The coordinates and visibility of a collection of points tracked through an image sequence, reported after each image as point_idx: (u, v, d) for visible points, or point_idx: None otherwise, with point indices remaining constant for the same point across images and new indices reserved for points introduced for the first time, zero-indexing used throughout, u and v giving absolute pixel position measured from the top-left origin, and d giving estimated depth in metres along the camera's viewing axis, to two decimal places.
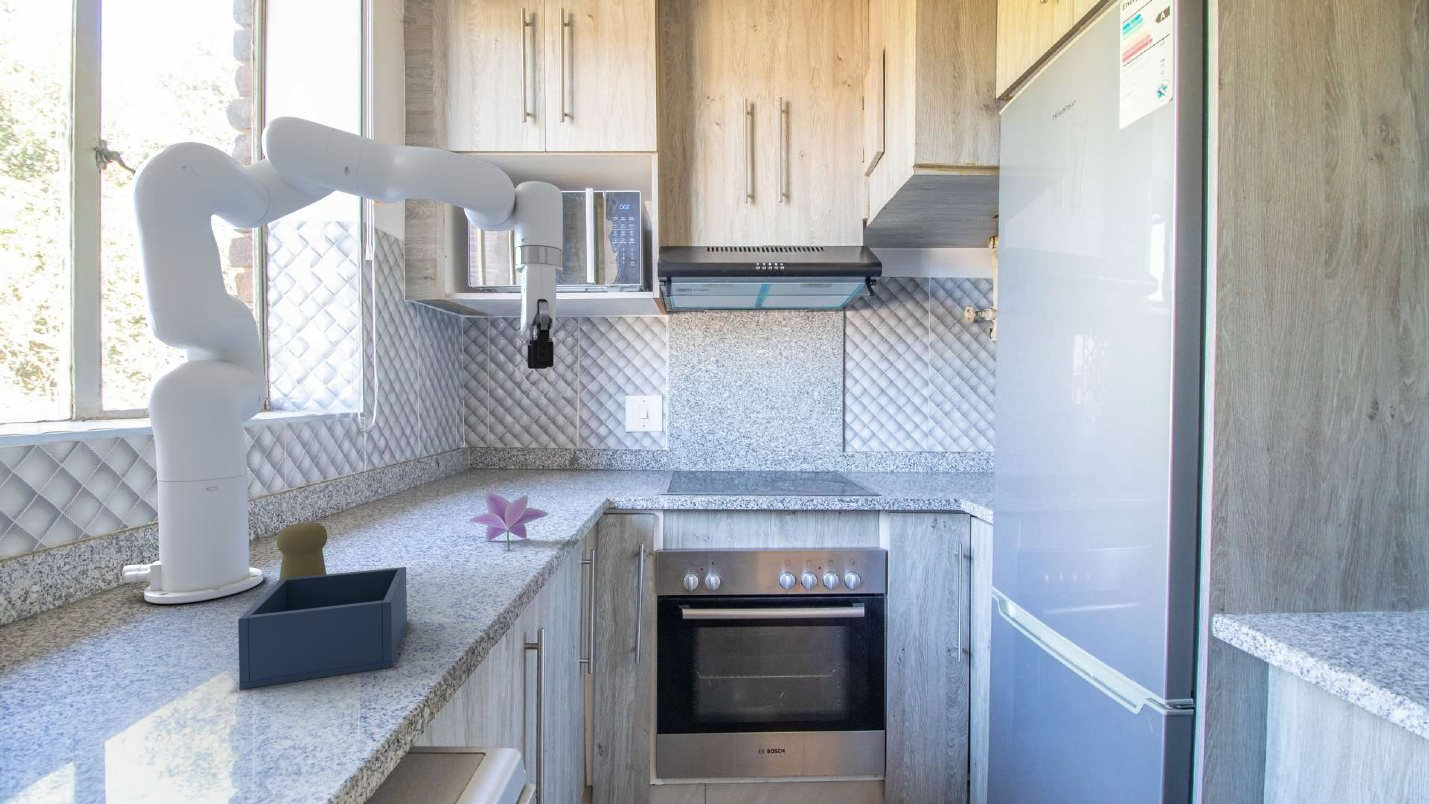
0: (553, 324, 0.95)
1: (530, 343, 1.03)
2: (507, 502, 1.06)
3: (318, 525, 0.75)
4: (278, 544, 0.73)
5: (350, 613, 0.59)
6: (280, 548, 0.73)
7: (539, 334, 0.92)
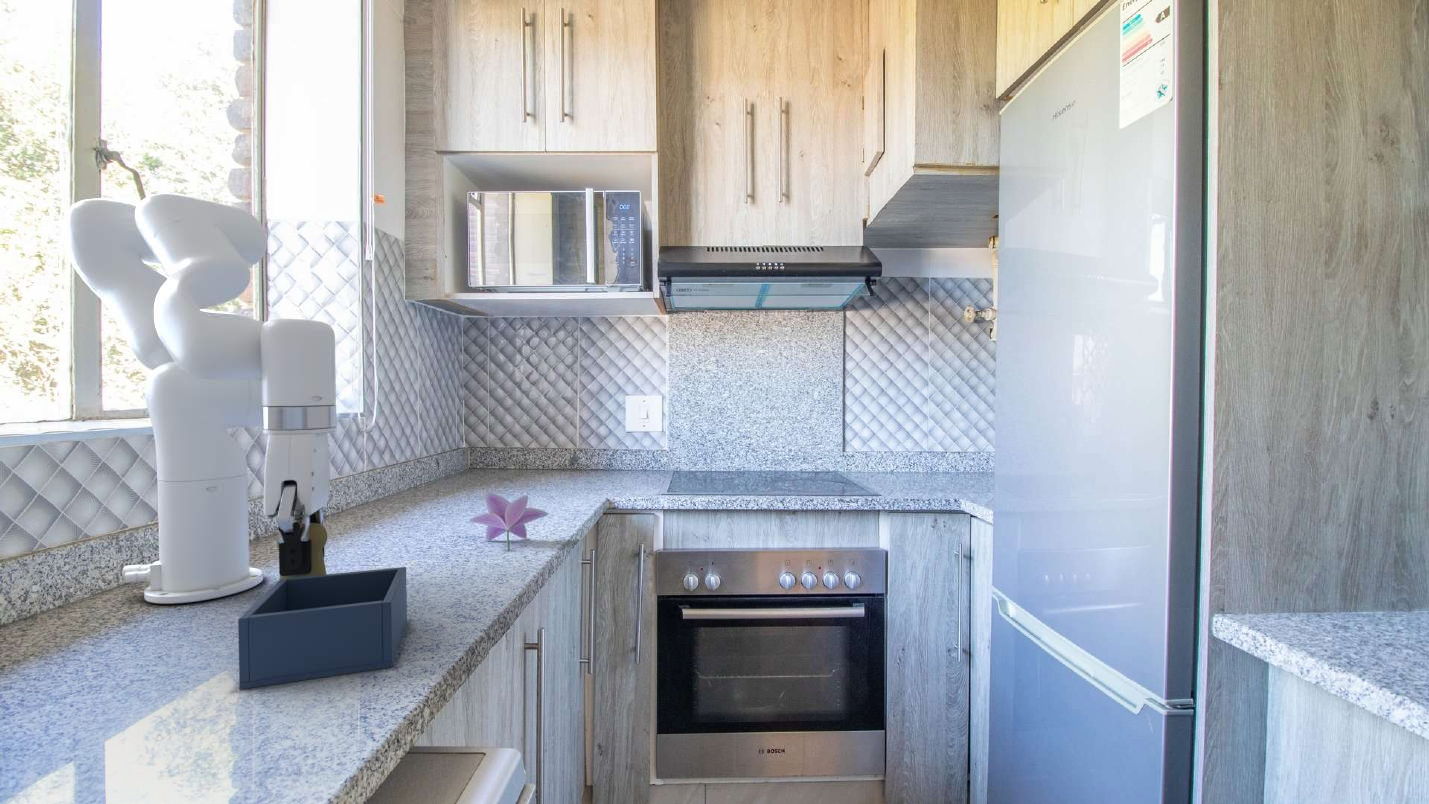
0: (307, 511, 0.71)
1: None
2: (507, 502, 1.06)
3: (318, 525, 0.75)
4: (278, 544, 0.73)
5: (350, 613, 0.59)
6: None
7: (284, 537, 0.70)
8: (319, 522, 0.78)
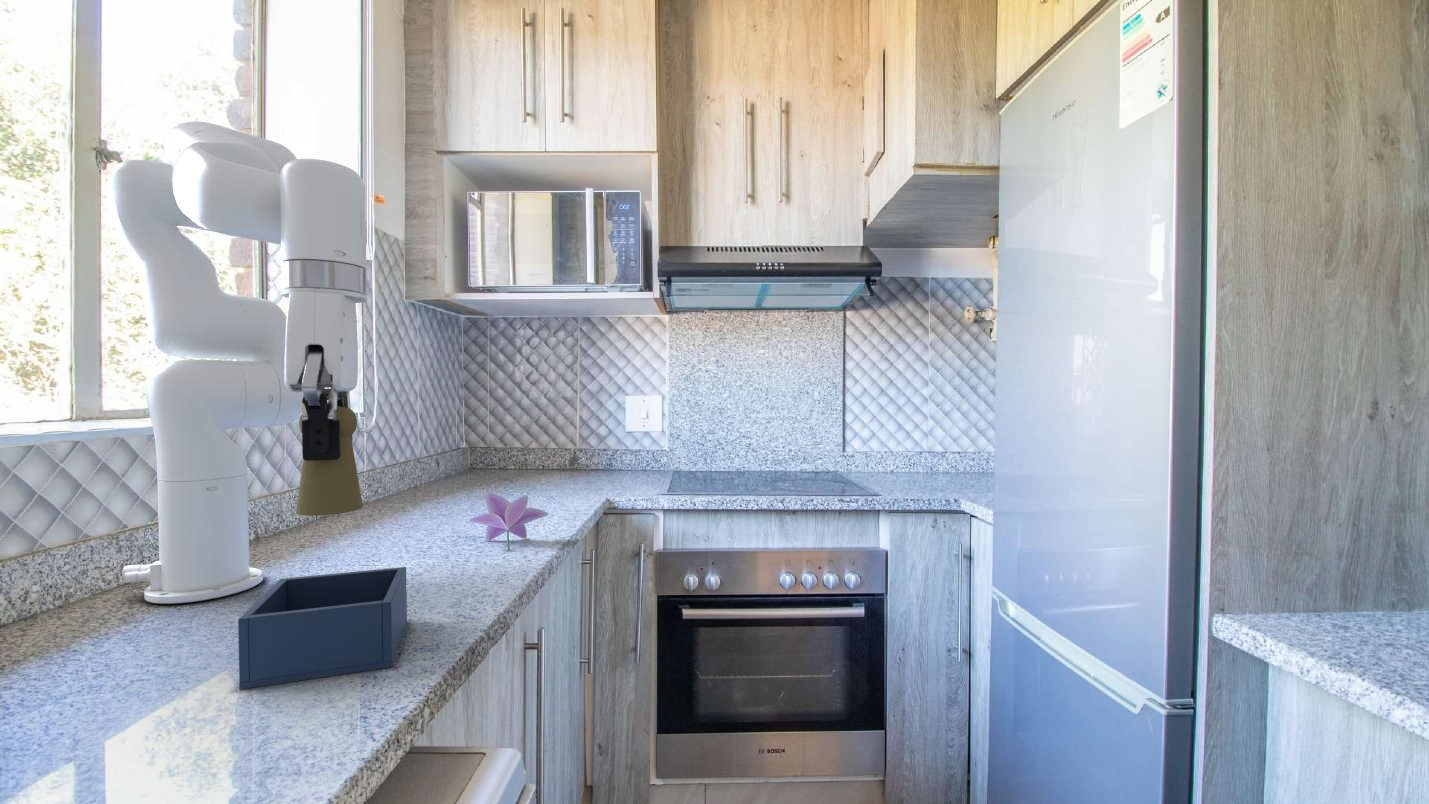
0: (335, 383, 0.60)
1: None
2: (507, 502, 1.06)
3: (346, 408, 0.65)
4: (301, 425, 0.62)
5: (350, 613, 0.59)
6: None
7: (308, 412, 0.59)
8: None
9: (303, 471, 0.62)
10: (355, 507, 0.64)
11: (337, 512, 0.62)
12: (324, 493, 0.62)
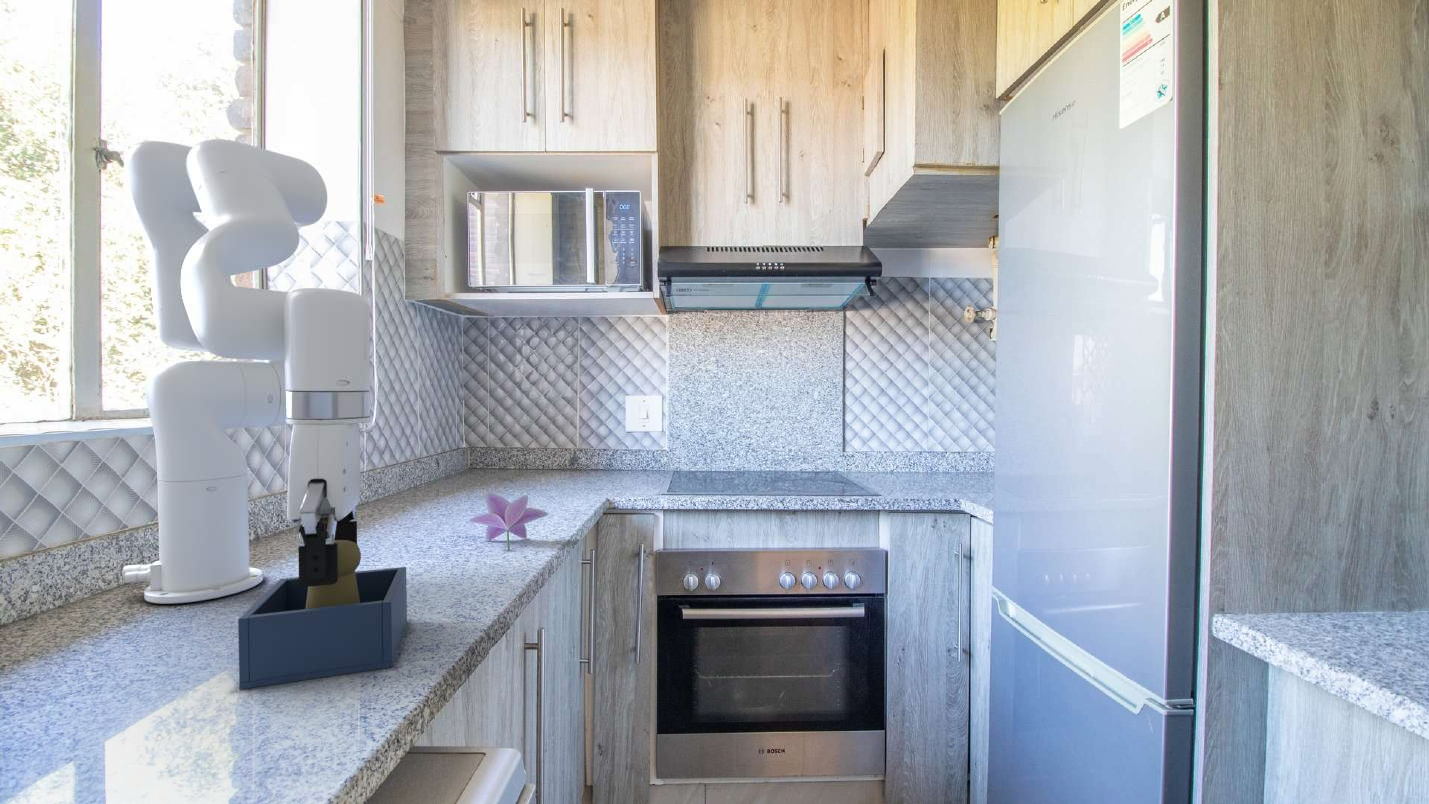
0: (338, 515, 0.60)
1: None
2: (507, 502, 1.06)
3: (350, 543, 0.65)
4: None
5: (350, 613, 0.59)
6: None
7: (305, 540, 0.58)
8: None
9: None
10: None
11: None
12: None
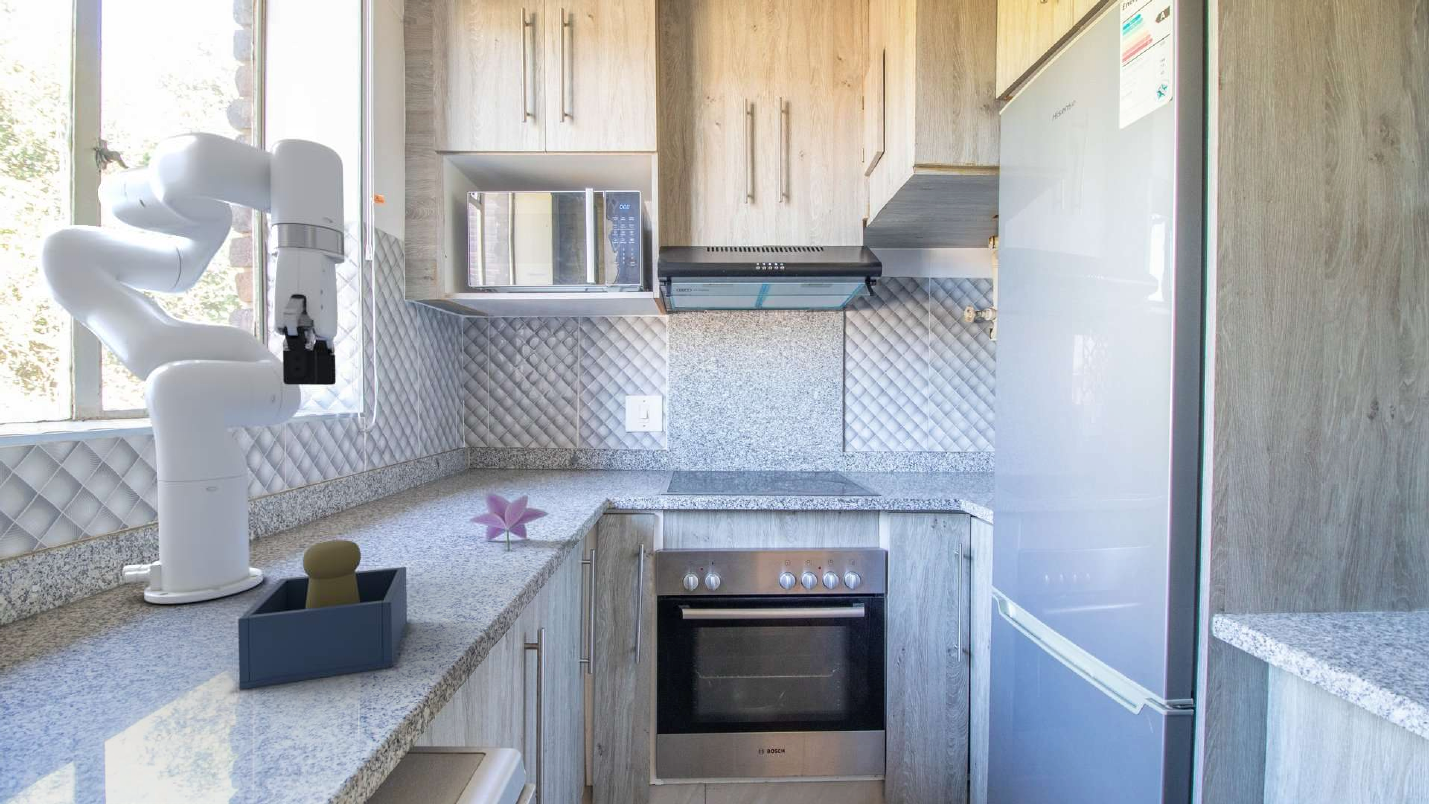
0: (316, 328, 0.72)
1: None
2: (507, 502, 1.06)
3: (350, 543, 0.65)
4: (305, 566, 0.62)
5: (350, 613, 0.59)
6: (307, 571, 0.62)
7: (288, 341, 0.69)
8: (330, 348, 0.81)
9: None
10: None
11: None
12: None
